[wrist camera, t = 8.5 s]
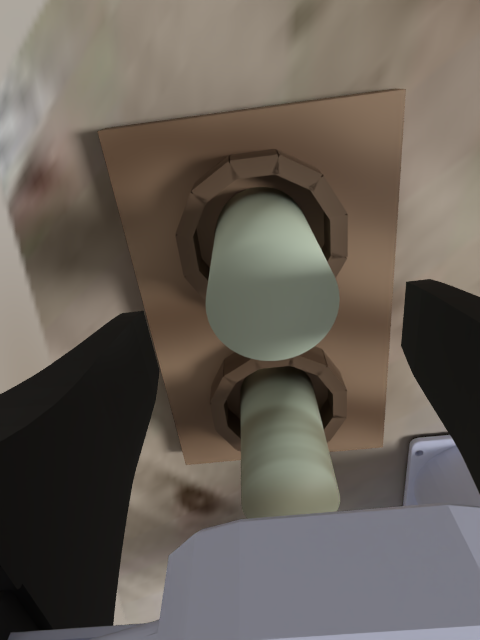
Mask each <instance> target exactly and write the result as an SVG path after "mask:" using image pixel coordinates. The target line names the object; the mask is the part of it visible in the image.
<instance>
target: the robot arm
mask: <svg viewBox="0 0 480 640" xmlns="http://www.w3.org/2000/svg"><path fill="white" fill-rule="evenodd" d="M401 346H402V349H403V352H404V354H405V357H406V359H407V362H408V364H409V366H410V369H411V371H412V373H413V375H414V377H415V379H416V380H417V382H418V384H419V385H420V387H421V389H422V390H423V392H424V394H425V395H426V397H427V399H428V400H429V402H430V403H431V405H432V407H433V408H434V410H435V411H436V413H437V415H438V416H439V418H440V420H441V421H442V423H443V424H444V426H445V428H446V429H447V431H448V432H449V434H450V435H442V436H431V437H420V438H415V439H413V440H412V441H411V442H410V445H409V454H408V464H407V473H406V482H405V492H404V501H403V506H398V507H386V508H373V509H361V510H349V511H336V512H324V513H312V514H300V515H287V516H275V517H263V518H250V519H239V520H236V521H232V522H228V523H224V524H220V525H216V526H213V527H209V528H205V529H201V530H200V531H198V532H196V533H195V534H194V535H192V536H191V537H190V538H189V539H188V540H187V541H185V542H184V543H183V544H182V545H181V546H180V547H178V548H177V549H176V550H175V551H174V552H173V553H171V554H170V555H169V558H168V565H167V572H166V579H165V586H164V593H163V599H162V606H161V613H160V620H156V621H153V622H149V623H144V624H129V625H116V626H113V621H114V611H115V601H116V593H117V585H118V577H119V569H120V560H121V553H122V546H123V539H124V532H125V526H126V519H127V513H128V507H129V501H130V495H131V489H132V484H133V479H134V475H135V471H136V467H137V463H138V460H139V456H140V453H141V450H142V446H143V443H144V439H145V436H146V432H147V429H148V426H149V422H150V418H151V415H152V411H153V408H154V404H155V400H156V394H157V387H158V378H159V367H158V364H157V360H156V356H155V352H154V349H153V345H152V341H151V337H150V334H149V330H148V326H147V322H146V319H145V315H144V311H139V312H130V313H122V314H120V315H118V316H117V317H115V318H114V319H112V320H111V321H109V322H108V323H107V324H105V325H104V326H103V327H101V328H100V329H99V330H97V331H96V332H95V333H93V334H92V335H91V336H90V337H88V338H87V339H86V340H84V341H83V342H82V343H80V344H79V345H78V346H76V347H75V348H74V349H72V350H71V351H69V352H68V353H66V354H65V355H64V356H62V357H61V358H59V359H58V360H56V361H55V362H54V363H52V364H51V365H49V366H48V367H46V368H45V369H43V370H42V371H40V372H39V373H37V374H36V375H34V376H32V377H31V378H29V379H27V380H26V381H24V382H22V383H20V384H19V385H17V386H15V387H13V388H11V389H9V390H8V391H6V392H4V393H2V394H0V640H480V297H478V296H476V295H473V294H471V293H468V292H466V291H463V290H460V289H458V288H455V287H453V286H450V285H447V284H444V283H442V282H438V281H435V280H431V279H427V280H418V281H409V282H406V292H405V305H404V317H403V330H402V342H401ZM416 451H417V452H416Z"/></svg>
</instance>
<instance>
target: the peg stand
mask: <svg viewBox="0 0 480 640" xmlns="http://www.w3.org/2000/svg"><path fill="white" fill-rule="evenodd" d="M405 93H406V89H390V90H383V91H375V92H368V93H361V94H353V95H346V96H339V97H331V98H324V99H317V100H309V101H302V102H295V103H287V104H280V105H273V106H265V107H258V108H251V109H243V110H236V111H229V112H221V113H214V114H207V115H199V116H192V117H185V118H178V119H170V120H163V121H156V122H148V123H141V124H134V125H126V126H119V127H112V128H105V129H102V130H100V131H97V132H98V135H99V139H100V143H101V147H102V150H103V154H104V158H105V162H106V165H107V169H108V173H109V177H110V180H111V184H112V188H113V192H114V196H115V199H116V203H117V207H118V211H119V214H120V218H121V222H122V226H123V229H124V233H125V237H126V241H127V244H128V248H129V252H130V256H131V260H132V263H133V267H134V271H135V275H136V278H137V282H138V286H139V290H140V293H141V297H142V301H143V305H144V308H145V312H146V316H147V320H148V324H149V327H150V331H151V335H152V339H153V342H154V346H155V350H156V354H157V357H158V361H159V365H160V369H161V373H162V376H163V380H164V384H165V388H166V391H167V395H168V399H169V403H170V406H171V410H172V414H173V418H174V421H175V425H176V429H177V433H178V437H179V440H180V444H181V448H182V452H183V455H184V459H185V463H186V465H190V464H201V463H213V462H224V461H235V460H241V504H242V510H243V513H244V515H245V516H246V518H247V519H250V518H263V517H275V516H287V515H300V514H312V513H324V512H336V511H337V510H338V508H339V505H340V494H339V490H338V486H337V481H336V477H335V473H334V469H333V465H332V461H331V457H330V453H329V452H335V451H346V450H357V449H368V448H379V447H383V436H384V420H385V404H386V389H387V373H388V358H389V342H390V327H391V311H392V295H393V280H394V264H395V249H396V233H397V218H398V202H399V187H400V171H401V155H402V140H403V124H404V109H405ZM254 187H271V188H275V189H278V190H280V191H283V192H284V193H286V194H288V195H289V196H290V197H292V198H293V199H294V200H295V201H296V203H297V204H298V205H299V207H300V209H301V210H302V212H303V214H304V216H305V218H306V220H307V222H308V224H309V226H310V228H311V230H312V232H313V234H314V236H315V238H316V240H317V242H318V244H319V246H320V248H321V250H322V252H323V254H324V256H325V258H326V260H327V262H328V264H329V266H330V268H331V270H332V272H333V274H334V276H335V279H336V282H337V284H338V289H339V298H340V301H339V309H338V314H337V317H336V319H335V322H334V324H333V326H332V327H331V329H330V331H329V332H328V333H327V335H326V336H325V337H324V338H323V339H322V340H321V341H320V342H319V343H318V344H317V345H315V346H314V347H313V348H311V349H310V350H308V351H306V352H304V353H302V354H300V355H298V356H295V357H293V358H289V359H285V360H278V361H262V360H256V359H251V358H248V357H244V356H242V355H240V354H238V353H236V352H234V351H233V350H231V349H229V348H228V347H227V346H226V345H224V344H223V343H222V342H221V341H220V340H219V339H218V337H217V336H216V335H215V333H214V332H213V330H212V328H211V326H210V324H209V321H208V318H207V314H206V293H207V286H208V280H209V273H210V266H211V259H212V252H213V245H214V238H215V232H216V225H217V220H218V217H219V215H220V213H221V211H222V209H223V207H224V206H225V204H226V203H227V202H228V201H229V200H230V199H231V198H232V197H234V196H235V195H236V194H238V193H240V192H242V191H244V190H246V189H250V188H254Z"/></svg>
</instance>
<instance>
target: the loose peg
mask: <svg viewBox="0 0 480 640" xmlns="http://www.w3.org/2000/svg"><path fill="white" fill-rule="evenodd" d="M339 301H340V298H339V289H338V284H337V282H336V279H335V276H334V274H333V272H332V270H331V268H330V266H329V264H328V262H327V260H326V258H325V256H324V254H323V252H322V250H321V248H320V246H319V244H318V242H317V240H316V238H315V236H314V234H313V232H312V230H311V228H310V226H309V224H308V222H307V220H306V218H305V216H304V214H303V212H302V210H301V209H300V207H299V205H298V204H297V203H296V201H295V200H294V199H293V198H292V197H290V196H289V195H288V194H286V193H284V192H283V191H280V190H278V189H275V188H271V187H254V188H250V189H246V190H244V191H242V192H240V193H238V194H236V195H235V196H234V197H232V198H231V199H230V200H229V201H228V202H227V203H226V204H225V206H224V207H223V209H222V211H221V213H220V215H219V217H218V220H217V225H216V232H215V238H214V245H213V252H212V259H211V266H210V273H209V280H208V286H207V293H206V314H207V318H208V321H209V324H210V326H211V328H212V330H213V332H214V333H215V335H216V336H217V337H218V339H219V340H220V341H221V342H222V343H223V344H224V345H226V346H227V347H228V348H229V349H231V350H233V351H234V352H236V353H238V354H240V355H242V356H244V357H248V358H251V359H256V360H262V361H278V360H285V359H289V358H293V357H295V356H298V355H300V354H302V353H304V352H306V351H308V350H310V349H311V348H313V347H314V346H315V345H317V344H318V343H319V342H320V341H321V340H322V339H323V338H324V337H325V336H326V335H327V333H328V332H329V331H330V329H331V327H332V326H333V324H334V322H335V319H336V317H337V314H338V309H339Z"/></svg>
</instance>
